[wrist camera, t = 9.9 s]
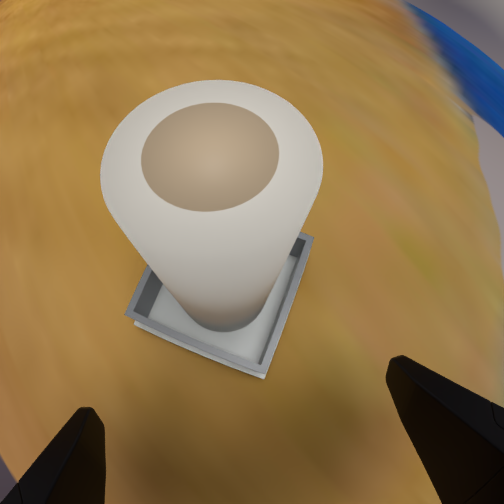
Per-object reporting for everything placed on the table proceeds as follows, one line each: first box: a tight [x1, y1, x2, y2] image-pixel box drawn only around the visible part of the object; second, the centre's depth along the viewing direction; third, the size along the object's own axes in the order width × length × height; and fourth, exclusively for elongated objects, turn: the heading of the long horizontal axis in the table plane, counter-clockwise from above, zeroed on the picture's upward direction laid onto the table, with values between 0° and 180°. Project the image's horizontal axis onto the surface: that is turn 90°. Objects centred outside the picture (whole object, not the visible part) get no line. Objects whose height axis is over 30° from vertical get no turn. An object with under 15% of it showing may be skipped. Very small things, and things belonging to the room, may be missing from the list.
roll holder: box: [124, 232, 314, 379], centre depth 20 cm, size 9×9×4 cm
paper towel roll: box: [100, 80, 323, 332], centre depth 14 cm, size 6×6×14 cm
